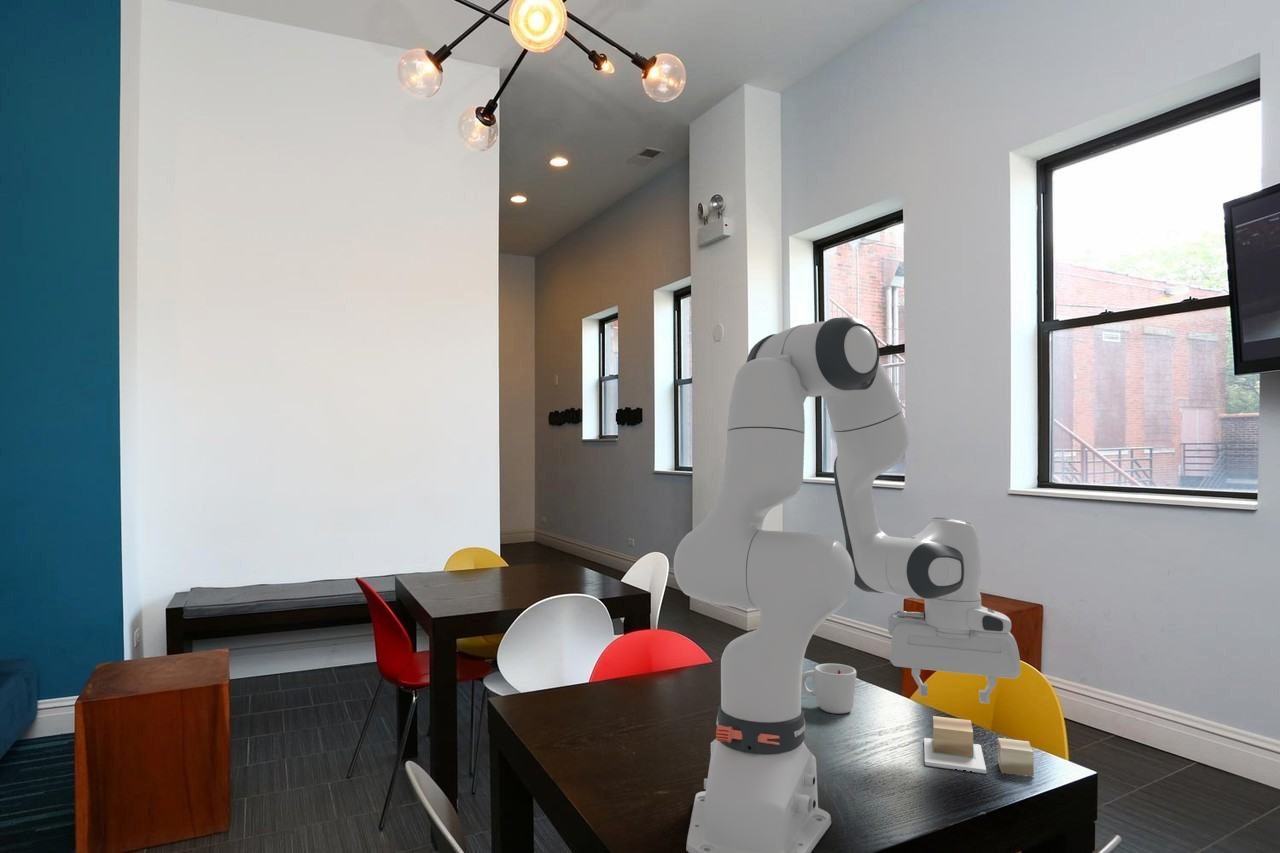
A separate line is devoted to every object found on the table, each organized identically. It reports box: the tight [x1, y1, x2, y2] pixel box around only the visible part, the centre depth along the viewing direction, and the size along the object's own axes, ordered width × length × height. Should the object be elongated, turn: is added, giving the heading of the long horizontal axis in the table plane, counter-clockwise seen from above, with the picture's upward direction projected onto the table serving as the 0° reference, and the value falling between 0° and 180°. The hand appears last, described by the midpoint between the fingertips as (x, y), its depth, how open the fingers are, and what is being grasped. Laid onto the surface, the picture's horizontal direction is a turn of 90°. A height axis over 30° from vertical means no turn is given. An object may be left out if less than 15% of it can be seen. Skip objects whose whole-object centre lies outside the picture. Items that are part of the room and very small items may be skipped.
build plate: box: [923, 737, 987, 774], centre depth 123 cm, size 11×9×1 cm
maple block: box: [997, 737, 1035, 777], centre depth 119 cm, size 4×4×4 cm
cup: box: [801, 663, 857, 715], centre depth 147 cm, size 11×8×8 cm
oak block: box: [932, 715, 974, 757], centre depth 125 cm, size 6×6×4 cm
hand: (953, 698), depth 125 cm, fingers open, 8 cm apart
